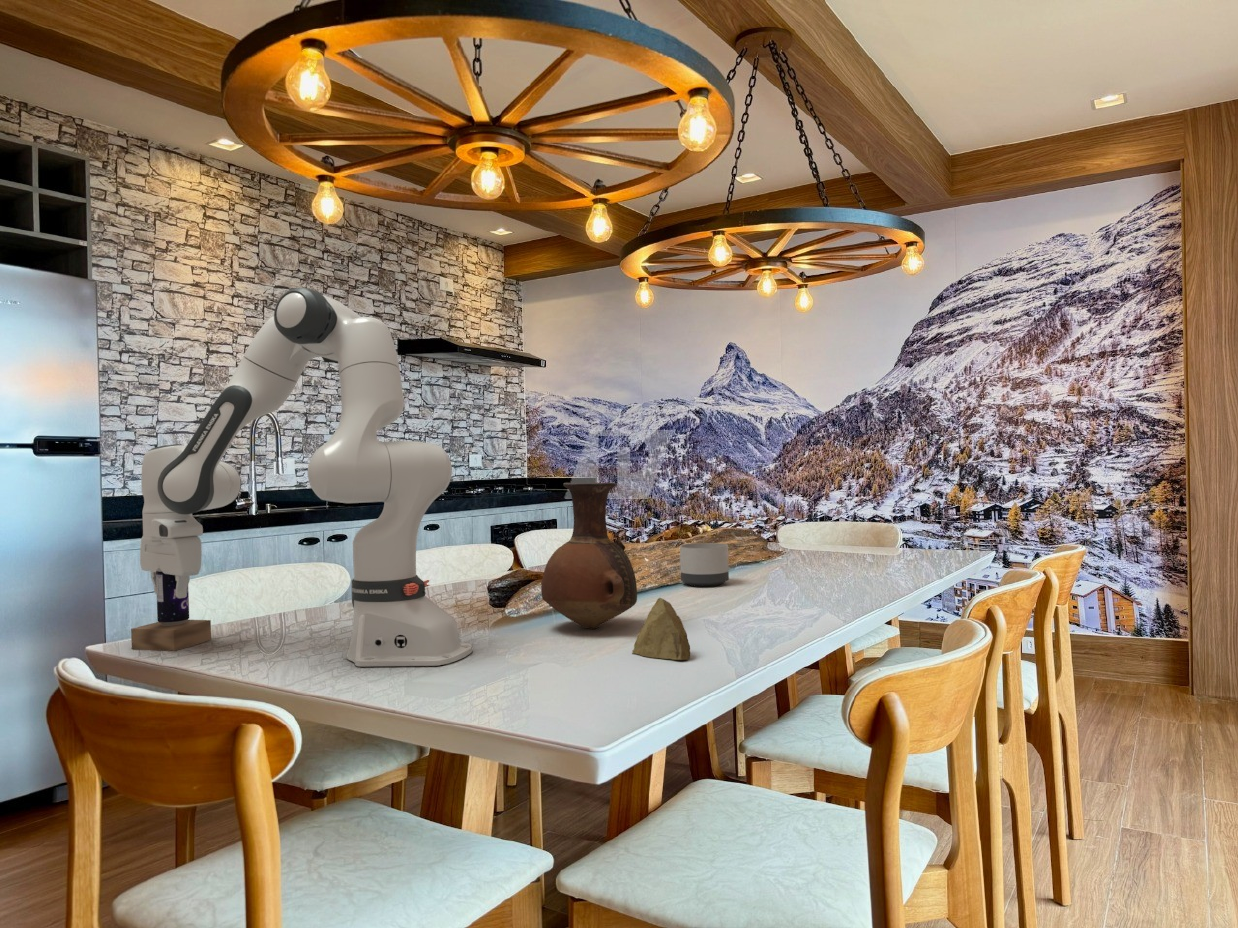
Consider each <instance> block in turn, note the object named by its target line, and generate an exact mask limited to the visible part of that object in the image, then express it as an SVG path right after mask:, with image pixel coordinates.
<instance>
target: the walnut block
mask: <svg viewBox="0 0 1238 928" xmlns="http://www.w3.org/2000/svg"><path fill="white" fill-rule="evenodd" d="M130 635H131V641H130V642H131V650H141V651H143V650H144V651H169V652H171V651H173V652H175V651H179V650H182V649H185V648H188V647H189V648H190V647H192V646H195V645H198V644H202V643H204V642H205V643H206V642H208V641H211V640H212V621H211V620H210V619H188V620H187V621H186V622H185V623H184V624H180V625H174V626H163V625H162V624H161V623H159V622H158V621H157V622H154V623H153V622H152V623H148V624H145V625H141V626H137V627H133V628H130Z"/></svg>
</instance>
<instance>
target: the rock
mask: <svg viewBox="0 0 1238 928" xmlns="http://www.w3.org/2000/svg"><path fill="white" fill-rule="evenodd" d="M643 622H644V623H643V626H642V627H641V629H640V630H639V632H638V634H637V636H636V639H635V642H634V645H633V649H632V652H631V653H632V655H638V656H641V657H645V658H653V659H663V660H672V661H673V660H674V661H685V660H686V661H687V660H690V659H691V645H690V643H689V638H688V634H687V631H686V630H685V629H686V628H685V627H684V624H683V621H682V619H681V617H680V616H679V615H678V614H677V612H676V610H675V608H674V607H673V605H672V604H671V603H670V602H669V601H667V600H665V599H663V598H661V597H658V598H657V600H656V602H655V603H654V605H652V608H651V609H650V610H649V612H648V614H647V616H646V619H645V620H644V621H643Z"/></svg>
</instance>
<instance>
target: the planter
mask: <svg viewBox="0 0 1238 928" xmlns="http://www.w3.org/2000/svg"><path fill="white" fill-rule="evenodd" d="M679 558H680V559H679V560H680V561H679V563H680V581H681V582H683V583H685V584H687V585H689V586H692V587H696V588H697V587H700V588H701V587H702V588H706V587H707V588H708V587H709V588H710V587H711V588H712V587H717V586H720V585H722V584H724V583H726V582H728V581H729V579H730V577H729V572H730V571H729V545H728V544H726V543H718V542H698V543H695V542H694V543H685V544H680V546H679Z"/></svg>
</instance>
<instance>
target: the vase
mask: <svg viewBox="0 0 1238 928" xmlns="http://www.w3.org/2000/svg"><path fill="white" fill-rule="evenodd" d="M616 486H617V484H616V483H615V482H590V483H589V482H587V483H586V482H564V483H563V487H564V488H566V489H568V490H569V493H570V495H571V500H572V511H573V512H572V514H573V527H572V528H573V529H572V534H571V537H570V539H569V540H568V541H567V542H565V543H564V544H562V545H561V546H559V547H558V548H557V549H555V551H554V552H553V554H552V555H551V556H550V558H549V559H548V560H547V562H546V565H545V568H544V571H543V575H542V580H541V585H540V586H541V588H540V592H541V598H542V600H543V602H545V603H546V604H547V605H548V606H550V607H551V608H552V609H554V611H555V610H556V612H558V613H559V614H561V615H562V616H564V617H565V618H567V619H568V620H570V621H572V622H573V623H574V624H577V625H578V626H579V627H581V628H584V629H589V630H590V629H591V630H592V629H597V628H599V627H601V626H602V625H604V624H605V623H607V622H608V621H611V620H613V619H614V618H616V617H618V616H620V615H622V614H623V613H625V612H626V611H628V610H630V609H631V608H632V607H634V606H635V605H636V604H637V601H638V588H637V579H636V575H635V571H634V569H633V565H632V562H631V560H630V557H629V556H628V555H627V553H626V551H625V549H626V546H625V545H624V543H623V542H622V540H620V539H618V538H617V539H615V541H612V540H611V538H609V536H608V531H607V516H606V510H607V502H608V501H607V500H608V496H609V493H610V491H611V490H612V489H613V488H615V487H616Z"/></svg>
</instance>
